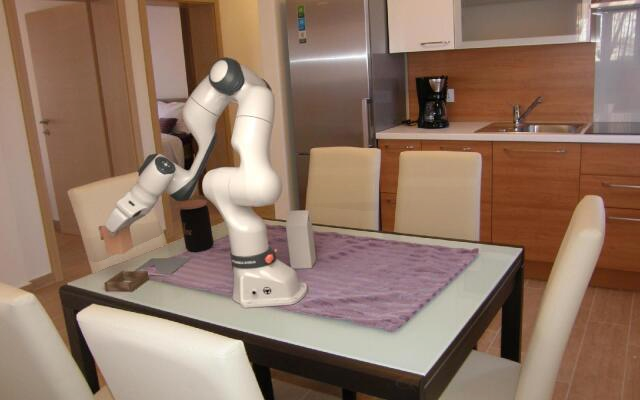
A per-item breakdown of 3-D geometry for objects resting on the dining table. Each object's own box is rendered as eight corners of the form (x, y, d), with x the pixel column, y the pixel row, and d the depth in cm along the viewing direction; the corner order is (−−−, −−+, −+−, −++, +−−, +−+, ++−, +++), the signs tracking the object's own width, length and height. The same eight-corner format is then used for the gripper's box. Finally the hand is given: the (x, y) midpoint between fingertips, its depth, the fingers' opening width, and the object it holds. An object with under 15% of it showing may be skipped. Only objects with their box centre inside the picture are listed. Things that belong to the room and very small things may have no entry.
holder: (149, 279, 196) (147, 271, 195) (132, 291, 186) (131, 283, 185) (123, 279, 198) (121, 271, 197) (106, 291, 189) (104, 283, 188)
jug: (133, 247, 191) (128, 221, 189) (123, 253, 185) (117, 227, 183) (109, 247, 193) (104, 222, 191) (98, 254, 188) (93, 227, 185)
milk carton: (311, 268, 190) (305, 213, 185) (290, 269, 192) (284, 214, 187) (316, 260, 197) (310, 207, 192) (296, 261, 198) (289, 208, 193)
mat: (190, 259, 212) (190, 258, 212) (169, 276, 197) (169, 275, 197) (152, 259, 216) (151, 258, 216) (128, 276, 201) (127, 274, 201)
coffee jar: (185, 246, 227) (177, 202, 222) (212, 241, 230) (205, 197, 225) (187, 254, 217) (179, 208, 212) (215, 249, 220) (208, 203, 215)
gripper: (149, 186, 192) (129, 215, 197) (114, 202, 173) (92, 234, 178) (163, 198, 192) (142, 227, 197) (129, 216, 173) (107, 248, 178)
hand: (118, 231), depth 187 cm, fingers closed on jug, 6 cm apart
